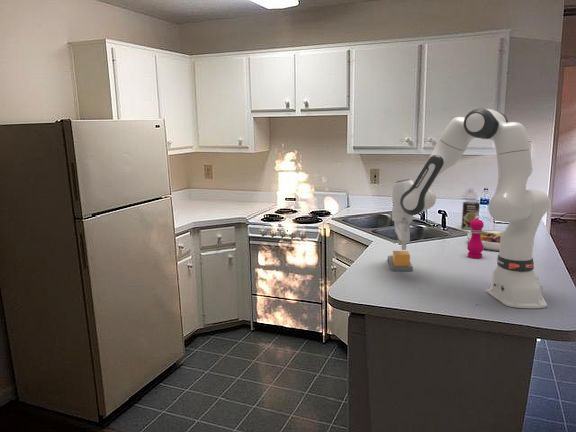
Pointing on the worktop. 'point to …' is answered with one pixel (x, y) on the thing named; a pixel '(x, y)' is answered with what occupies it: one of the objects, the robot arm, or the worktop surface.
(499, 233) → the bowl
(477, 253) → the pepper mill
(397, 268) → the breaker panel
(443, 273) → the worktop surface
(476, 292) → the worktop surface
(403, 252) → the orange block
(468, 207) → the coffee box
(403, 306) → the worktop surface
